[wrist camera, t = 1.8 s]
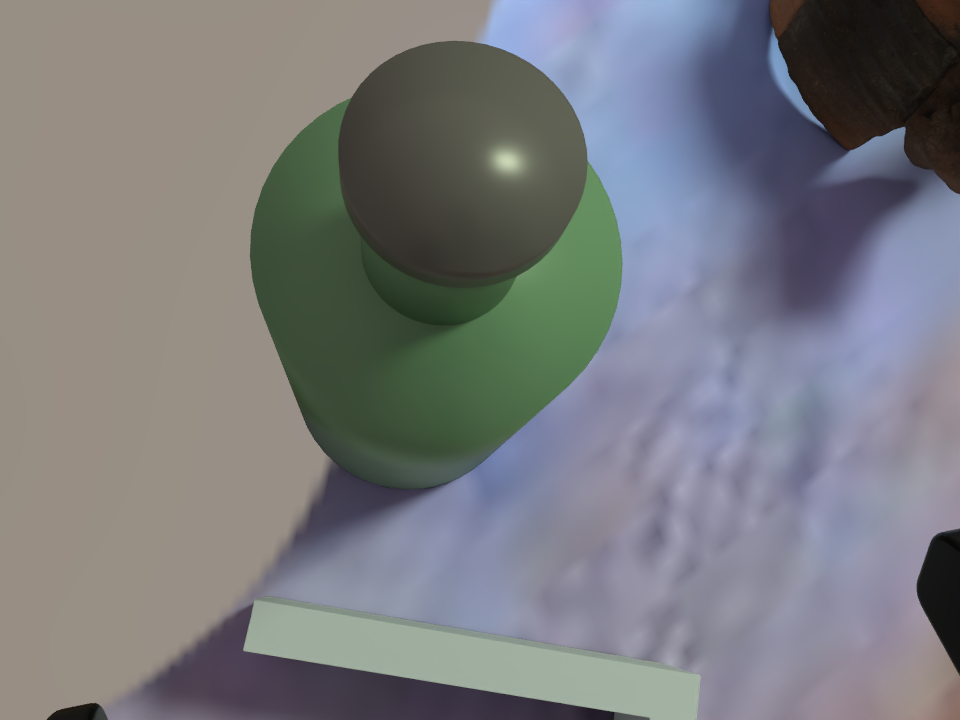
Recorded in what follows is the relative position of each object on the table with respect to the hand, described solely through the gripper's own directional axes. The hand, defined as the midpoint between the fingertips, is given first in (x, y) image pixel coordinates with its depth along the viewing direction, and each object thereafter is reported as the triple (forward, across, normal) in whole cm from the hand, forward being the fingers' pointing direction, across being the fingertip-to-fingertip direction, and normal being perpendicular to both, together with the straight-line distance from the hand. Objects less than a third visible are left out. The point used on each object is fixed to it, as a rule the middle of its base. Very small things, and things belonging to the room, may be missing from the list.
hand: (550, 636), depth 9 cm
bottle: (+12, 0, +5) cm, 13 cm away
